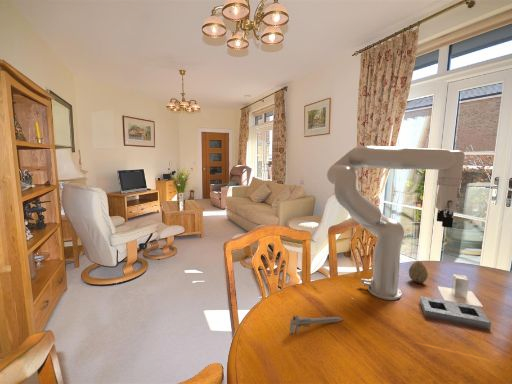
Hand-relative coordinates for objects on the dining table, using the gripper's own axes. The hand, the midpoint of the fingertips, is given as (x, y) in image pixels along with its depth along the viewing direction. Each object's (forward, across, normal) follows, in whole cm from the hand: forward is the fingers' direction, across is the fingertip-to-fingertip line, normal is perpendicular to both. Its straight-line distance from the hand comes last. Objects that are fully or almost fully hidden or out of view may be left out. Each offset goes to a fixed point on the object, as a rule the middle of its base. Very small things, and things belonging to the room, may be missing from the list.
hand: (443, 224), depth 105 cm
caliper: (+31, +43, -41) cm, 67 cm away
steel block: (+28, +2, +7) cm, 29 cm away
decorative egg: (+29, -6, -6) cm, 30 cm away
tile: (+29, +2, +7) cm, 30 cm away
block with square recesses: (+29, +18, +2) cm, 34 cm away
